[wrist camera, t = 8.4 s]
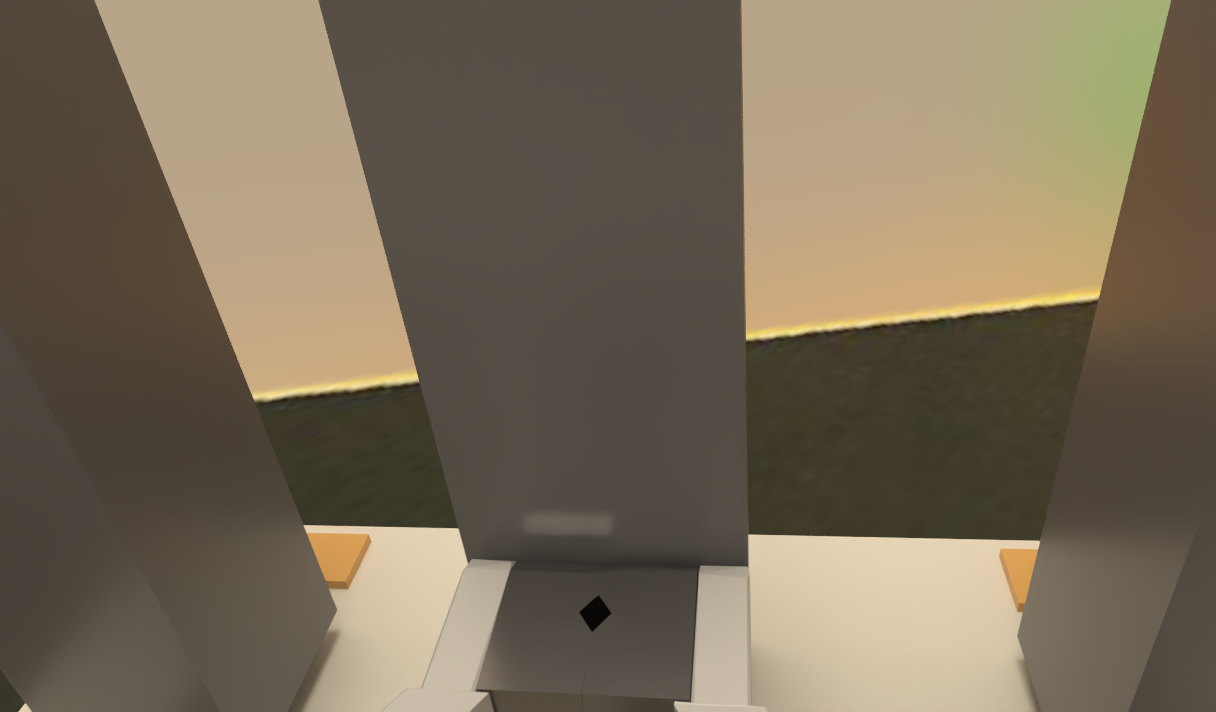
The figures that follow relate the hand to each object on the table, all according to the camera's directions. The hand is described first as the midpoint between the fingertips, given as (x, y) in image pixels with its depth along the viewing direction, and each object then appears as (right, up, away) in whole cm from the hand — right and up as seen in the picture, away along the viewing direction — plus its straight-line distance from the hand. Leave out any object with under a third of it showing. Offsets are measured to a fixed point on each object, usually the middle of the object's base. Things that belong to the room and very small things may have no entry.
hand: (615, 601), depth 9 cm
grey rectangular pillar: (0, -2, +3) cm, 4 cm away
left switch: (-6, -3, +4) cm, 8 cm away
